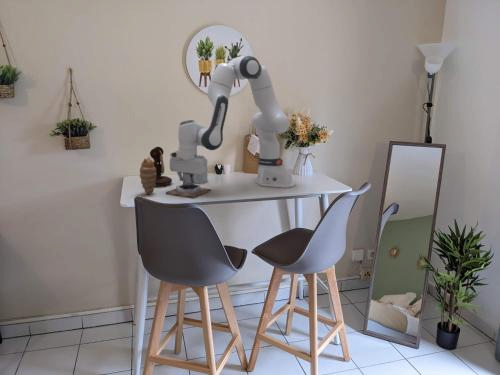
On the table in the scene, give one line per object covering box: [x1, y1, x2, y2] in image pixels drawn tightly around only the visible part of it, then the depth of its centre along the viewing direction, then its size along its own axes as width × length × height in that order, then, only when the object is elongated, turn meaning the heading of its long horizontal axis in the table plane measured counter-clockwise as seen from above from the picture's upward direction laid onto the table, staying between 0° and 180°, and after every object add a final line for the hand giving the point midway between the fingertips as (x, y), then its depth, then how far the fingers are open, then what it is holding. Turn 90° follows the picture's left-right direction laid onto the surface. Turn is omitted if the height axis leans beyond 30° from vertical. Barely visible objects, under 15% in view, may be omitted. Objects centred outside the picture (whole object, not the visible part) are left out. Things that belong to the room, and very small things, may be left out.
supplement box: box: [194, 158, 208, 185], centre depth 218 cm, size 7×7×13 cm
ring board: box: [165, 183, 212, 199], centre depth 197 cm, size 16×16×3 cm
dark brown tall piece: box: [149, 146, 173, 188], centre depth 210 cm, size 15×15×20 cm
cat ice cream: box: [139, 156, 157, 195], centre depth 191 cm, size 9×8×18 cm
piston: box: [182, 173, 195, 189], centre depth 196 cm, size 6×6×9 cm
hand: (188, 181), depth 196 cm, fingers open, 7 cm apart
